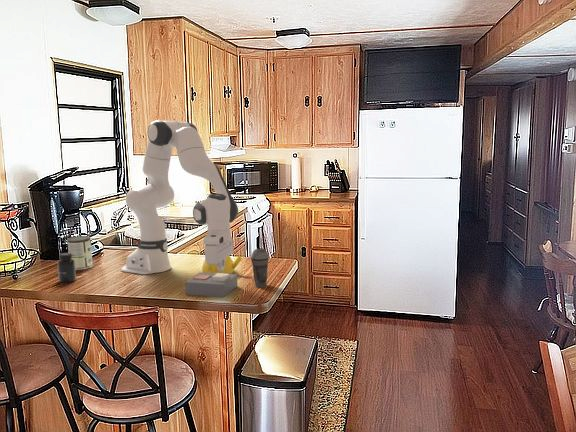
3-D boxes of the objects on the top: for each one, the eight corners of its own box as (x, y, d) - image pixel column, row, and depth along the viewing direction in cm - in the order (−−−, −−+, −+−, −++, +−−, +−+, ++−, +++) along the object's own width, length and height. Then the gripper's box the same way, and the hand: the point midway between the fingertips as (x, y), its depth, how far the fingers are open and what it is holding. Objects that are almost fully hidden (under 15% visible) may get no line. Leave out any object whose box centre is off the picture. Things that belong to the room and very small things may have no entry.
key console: (185, 294, 204) (185, 282, 203) (201, 283, 217) (200, 272, 216) (224, 297, 200) (223, 284, 199) (237, 286, 213) (236, 274, 212)
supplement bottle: (59, 284, 221) (57, 256, 219) (58, 280, 227) (55, 253, 225) (77, 281, 224) (74, 254, 222) (75, 277, 230) (72, 251, 228)
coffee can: (70, 265, 252) (68, 236, 249) (93, 263, 254) (91, 235, 252) (68, 271, 242) (65, 241, 239) (92, 268, 244) (89, 239, 242)
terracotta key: (194, 284, 207) (193, 278, 207) (199, 280, 212) (199, 274, 212) (205, 285, 206) (205, 278, 206) (211, 281, 211) (210, 275, 210)
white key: (212, 282, 205) (212, 276, 205) (217, 279, 210) (217, 273, 209) (224, 283, 204) (224, 277, 203) (229, 279, 208) (229, 273, 208)
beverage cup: (251, 283, 217) (250, 236, 213) (269, 282, 217) (267, 235, 214) (251, 288, 209) (250, 239, 206) (270, 287, 210) (268, 239, 207)
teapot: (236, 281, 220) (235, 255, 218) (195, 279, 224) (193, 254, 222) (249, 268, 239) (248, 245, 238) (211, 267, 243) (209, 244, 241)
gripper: (222, 230, 214) (223, 263, 217) (200, 241, 195) (202, 276, 197) (236, 230, 213) (238, 263, 215) (216, 241, 193) (218, 277, 196)
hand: (221, 270), depth 206 cm, fingers closed
